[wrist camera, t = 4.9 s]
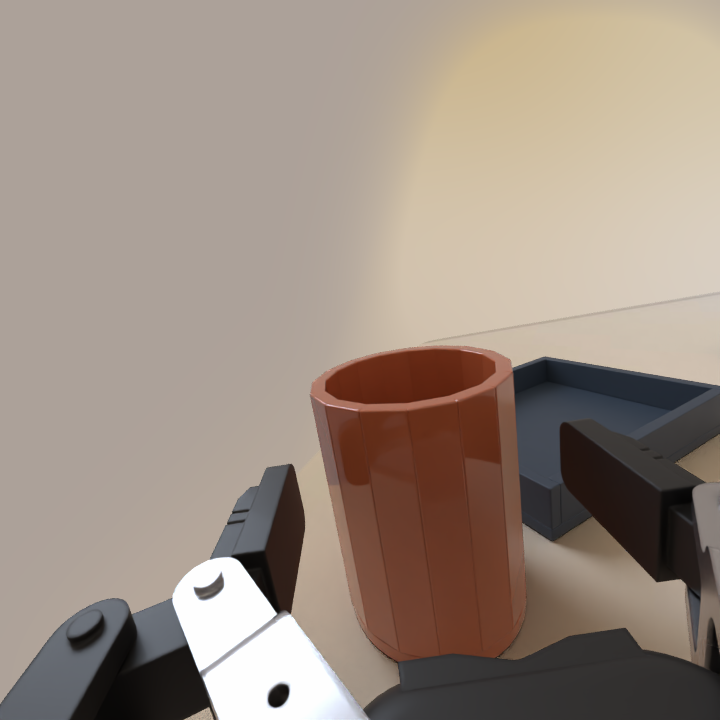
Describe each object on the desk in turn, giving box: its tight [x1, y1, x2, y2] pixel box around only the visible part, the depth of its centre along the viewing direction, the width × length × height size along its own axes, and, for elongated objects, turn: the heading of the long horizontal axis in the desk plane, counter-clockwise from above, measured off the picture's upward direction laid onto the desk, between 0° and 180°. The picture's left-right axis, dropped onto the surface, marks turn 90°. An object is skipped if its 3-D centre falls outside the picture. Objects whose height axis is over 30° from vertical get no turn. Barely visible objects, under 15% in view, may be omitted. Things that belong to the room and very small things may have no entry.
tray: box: [513, 357, 720, 541], centre depth 24 cm, size 15×12×3 cm
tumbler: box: [310, 346, 527, 662], centre depth 14 cm, size 7×7×9 cm
